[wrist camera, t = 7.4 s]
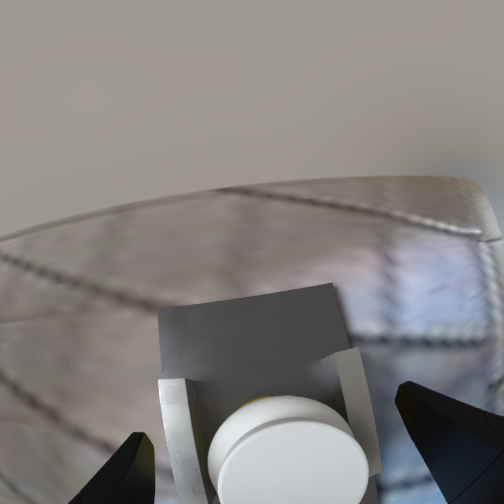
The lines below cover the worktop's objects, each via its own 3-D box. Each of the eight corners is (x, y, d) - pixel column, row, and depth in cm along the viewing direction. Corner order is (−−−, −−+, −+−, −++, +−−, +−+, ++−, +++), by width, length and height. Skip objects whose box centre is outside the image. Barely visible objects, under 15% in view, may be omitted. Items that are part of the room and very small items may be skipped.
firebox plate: (374, 510, 10) (395, 525, 7) (202, 544, 9) (193, 565, 6) (329, 287, 19) (342, 266, 16) (161, 312, 18) (145, 295, 15)
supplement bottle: (309, 387, 15) (382, 373, 6) (321, 465, 12) (398, 525, 3) (219, 400, 14) (175, 407, 6) (231, 479, 12) (209, 564, 3)
